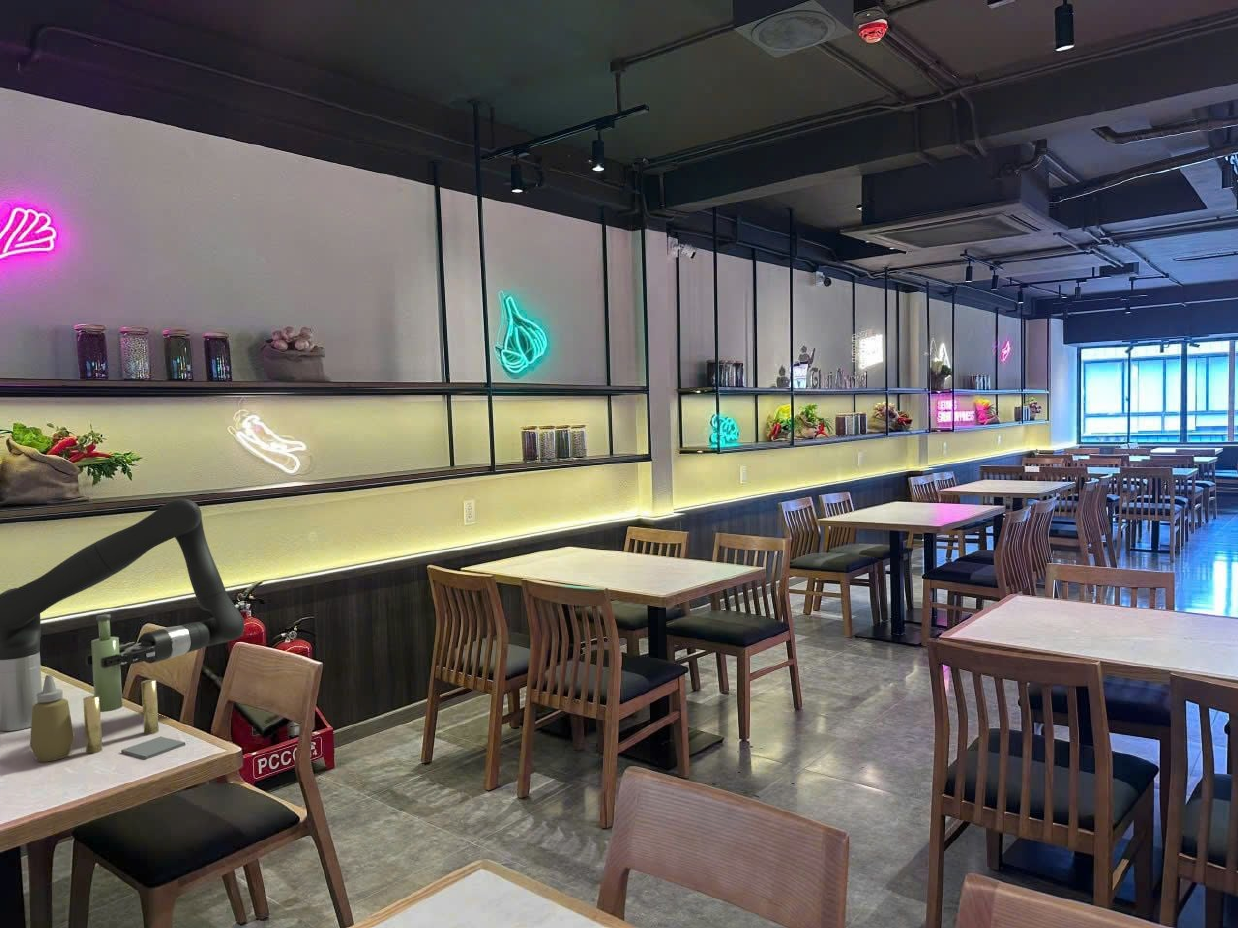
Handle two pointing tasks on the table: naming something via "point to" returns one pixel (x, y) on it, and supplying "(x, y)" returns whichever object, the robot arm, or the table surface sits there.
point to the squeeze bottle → (51, 724)
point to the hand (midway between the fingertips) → (94, 661)
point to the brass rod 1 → (92, 724)
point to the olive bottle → (109, 677)
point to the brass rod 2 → (150, 706)
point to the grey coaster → (153, 747)
